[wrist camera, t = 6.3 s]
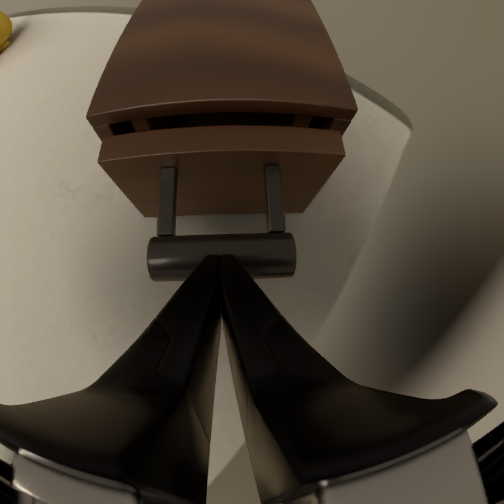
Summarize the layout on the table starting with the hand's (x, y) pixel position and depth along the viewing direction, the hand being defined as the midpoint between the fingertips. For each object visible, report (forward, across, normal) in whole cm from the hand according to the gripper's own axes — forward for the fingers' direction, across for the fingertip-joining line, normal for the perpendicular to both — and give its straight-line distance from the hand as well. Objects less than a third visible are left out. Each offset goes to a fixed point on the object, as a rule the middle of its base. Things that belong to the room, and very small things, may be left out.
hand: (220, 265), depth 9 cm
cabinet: (+14, 0, -4) cm, 14 cm away
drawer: (+10, 0, -1) cm, 10 cm away
